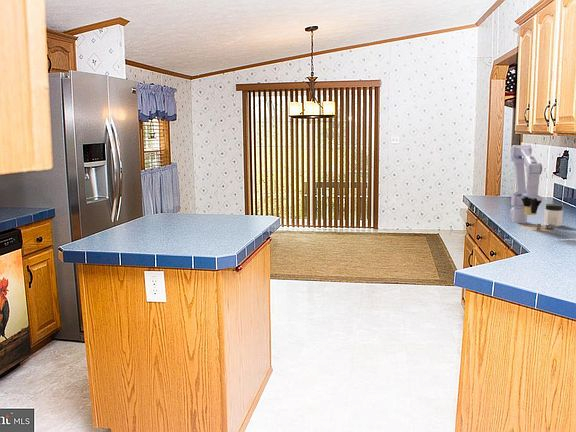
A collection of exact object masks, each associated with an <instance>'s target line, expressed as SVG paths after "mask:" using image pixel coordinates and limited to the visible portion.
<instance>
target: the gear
mask: <svg viewBox="0 0 576 432" xmlns="http://www.w3.org/2000/svg"><path fill="white" fill-rule="evenodd" d="M545 230H556V226H555V225H553V224H551V223H549V224H547V225H545Z"/></svg>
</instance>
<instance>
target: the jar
mask: <svg viewBox="0 0 576 432" xmlns="http://www.w3.org/2000/svg"><path fill="white" fill-rule="evenodd" d="M563 207H564V206H563V204H558V203H546V204H545V208H544V213H543V223H542V224H543V226H546V225H547V224H549V223H551V224H553V225H555V227H561V226H563V225H562V224H563V217H564V215H563V214H564V210H563Z"/></svg>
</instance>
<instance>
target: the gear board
mask: <svg viewBox="0 0 576 432" xmlns="http://www.w3.org/2000/svg"><path fill="white" fill-rule="evenodd" d="M519 227H520V228H521V227H522V228H524V229H527V230H530V231H534V232H559V230H557V229H555V230H545V227H546V225H542V224H541V223H537V224H536V225H535V224H534V225H533V224H532V225H531V224H530V225H529V224H527V225H525V224H524V225H521V224H520V225H519Z"/></svg>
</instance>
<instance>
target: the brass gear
mask: <svg viewBox="0 0 576 432" xmlns="http://www.w3.org/2000/svg"><path fill="white" fill-rule="evenodd" d="M524 214H527V216H536V215H537V214H538V210H537V211H536V213H531V206H524Z"/></svg>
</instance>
